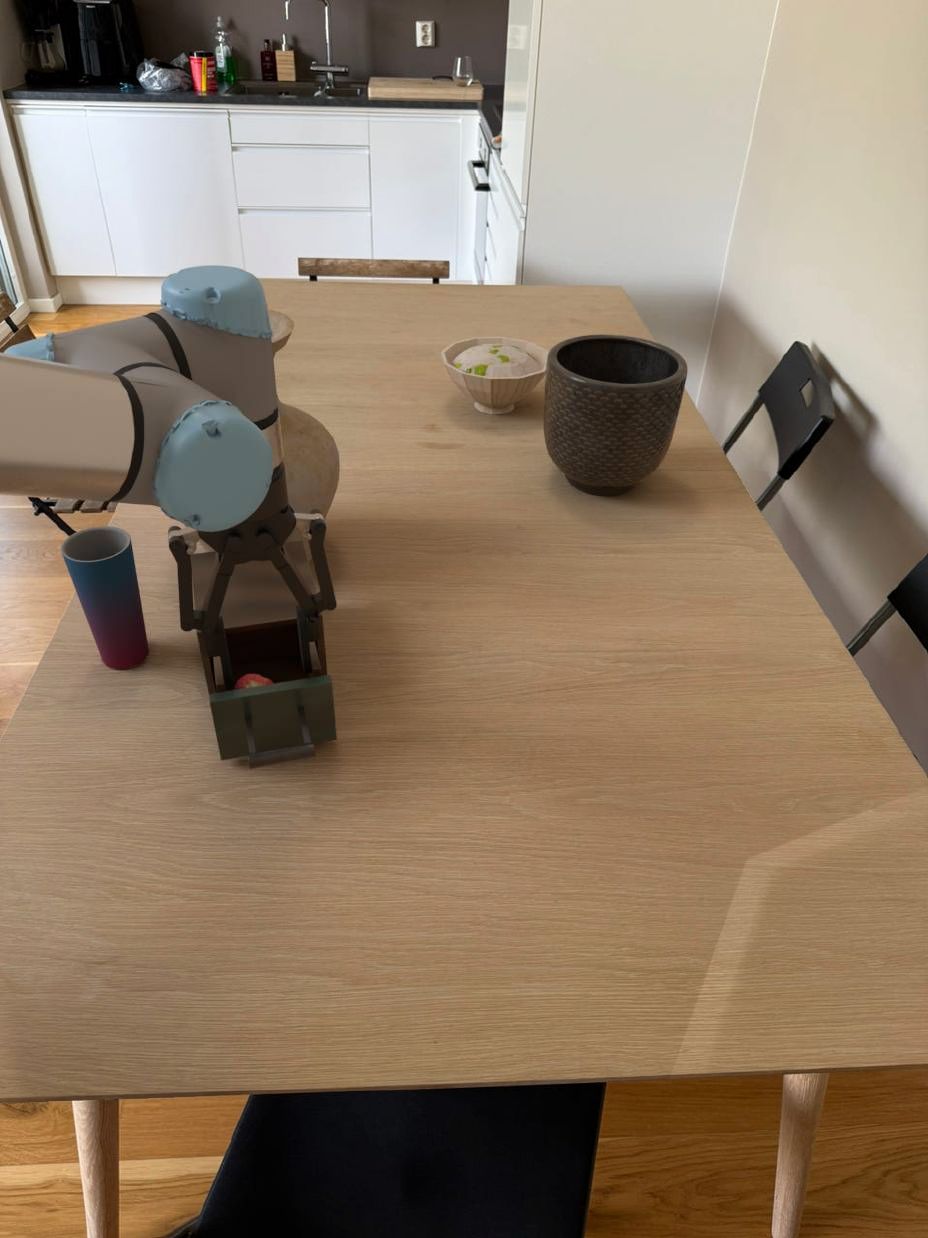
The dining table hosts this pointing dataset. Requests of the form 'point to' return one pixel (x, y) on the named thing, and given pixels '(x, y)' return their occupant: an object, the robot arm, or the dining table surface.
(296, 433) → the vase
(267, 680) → the fruit
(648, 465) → the planter
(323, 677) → the drawer
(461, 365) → the bowl
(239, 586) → the cabinet
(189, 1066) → the dining table surface
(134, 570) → the cup
